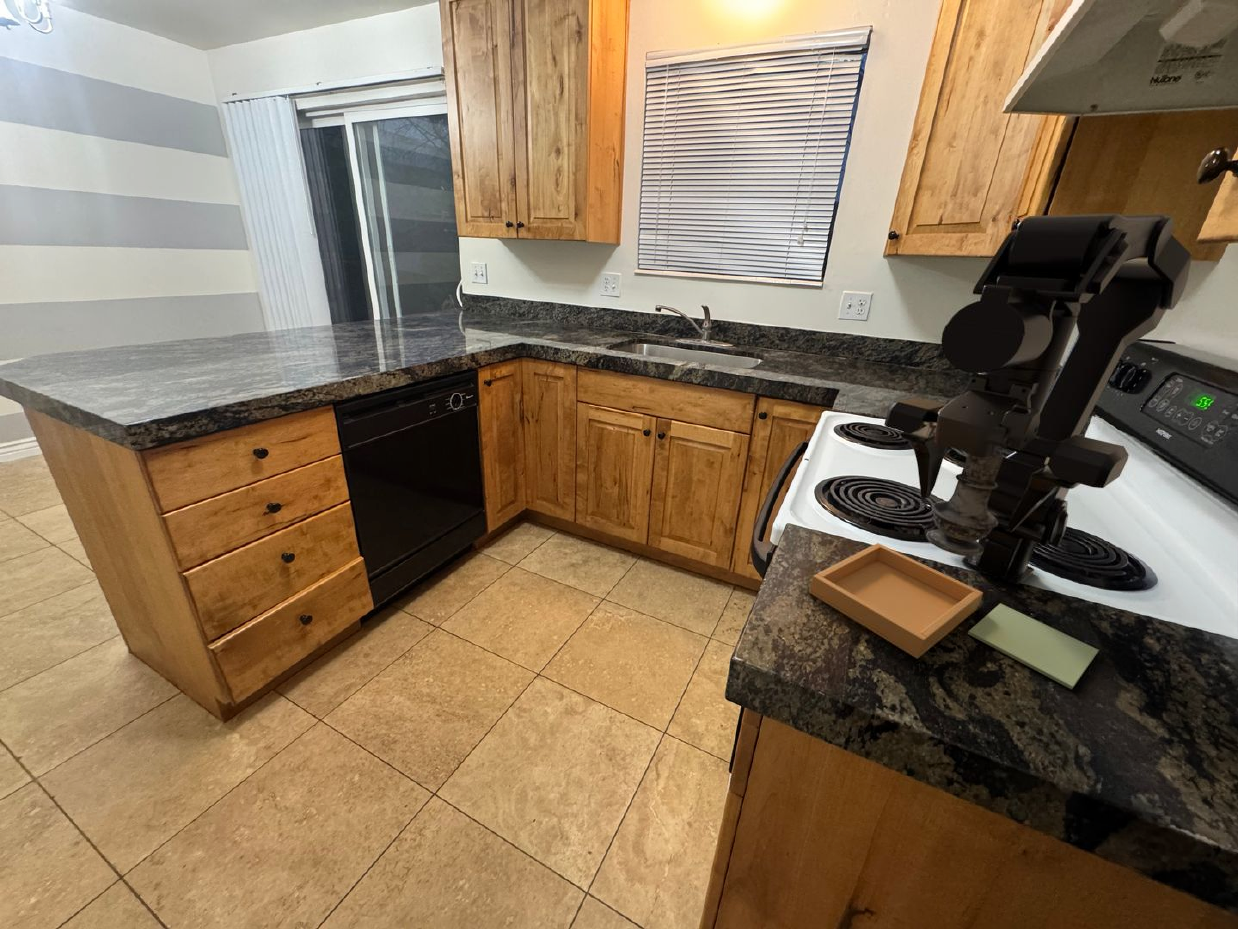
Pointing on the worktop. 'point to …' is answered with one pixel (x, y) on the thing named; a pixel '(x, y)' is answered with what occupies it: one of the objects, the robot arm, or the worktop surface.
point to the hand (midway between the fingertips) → (964, 513)
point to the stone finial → (967, 508)
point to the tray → (896, 597)
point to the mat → (1035, 644)
